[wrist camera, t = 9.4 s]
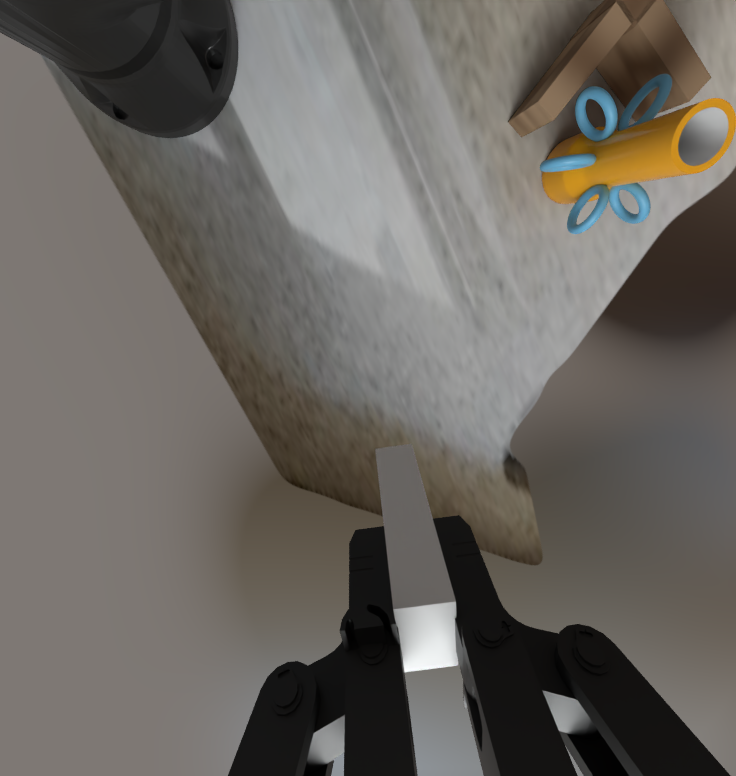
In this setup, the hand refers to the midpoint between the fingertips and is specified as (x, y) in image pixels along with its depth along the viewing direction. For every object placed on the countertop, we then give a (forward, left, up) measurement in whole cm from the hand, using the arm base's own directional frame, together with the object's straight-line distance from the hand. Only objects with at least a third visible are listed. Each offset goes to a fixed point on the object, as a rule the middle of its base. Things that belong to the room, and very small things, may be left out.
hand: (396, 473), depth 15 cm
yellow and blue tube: (-6, +25, -30) cm, 39 cm away
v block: (-13, +27, -29) cm, 42 cm away
